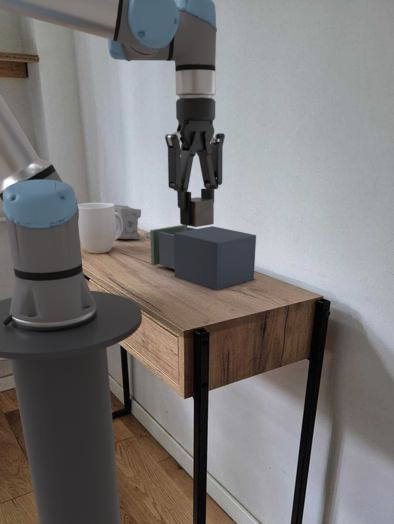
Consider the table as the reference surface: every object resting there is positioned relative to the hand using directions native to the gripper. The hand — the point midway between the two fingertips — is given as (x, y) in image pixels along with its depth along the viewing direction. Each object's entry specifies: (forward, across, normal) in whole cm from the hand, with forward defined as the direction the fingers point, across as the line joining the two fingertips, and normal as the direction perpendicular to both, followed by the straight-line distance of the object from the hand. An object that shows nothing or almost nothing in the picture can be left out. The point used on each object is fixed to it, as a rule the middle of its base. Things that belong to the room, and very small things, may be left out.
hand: (196, 222), depth 101 cm
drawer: (+14, -9, -18) cm, 25 cm away
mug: (+15, -4, -47) cm, 50 cm away
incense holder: (+15, -18, -58) cm, 62 cm away
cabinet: (+15, -10, -5) cm, 19 cm away
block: (0, 0, 0) cm, 0 cm away
